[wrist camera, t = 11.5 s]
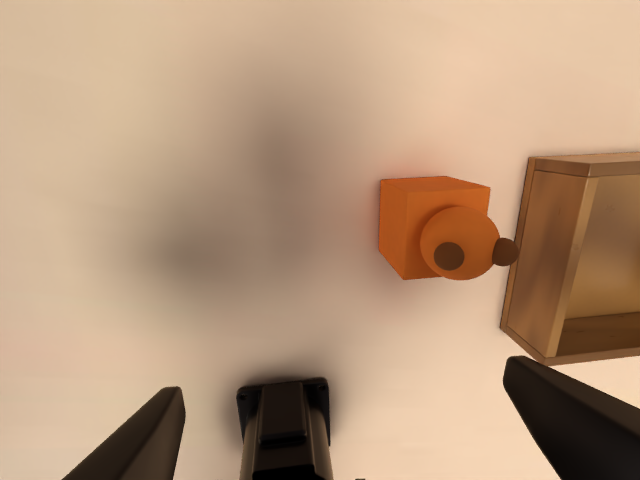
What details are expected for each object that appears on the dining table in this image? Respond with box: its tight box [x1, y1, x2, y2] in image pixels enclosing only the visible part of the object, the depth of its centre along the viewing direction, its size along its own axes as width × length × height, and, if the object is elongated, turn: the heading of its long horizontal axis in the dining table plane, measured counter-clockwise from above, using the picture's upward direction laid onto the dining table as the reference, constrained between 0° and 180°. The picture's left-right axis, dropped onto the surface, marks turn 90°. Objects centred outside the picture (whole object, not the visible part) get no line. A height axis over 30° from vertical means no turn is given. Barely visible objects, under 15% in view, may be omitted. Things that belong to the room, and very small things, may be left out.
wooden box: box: [500, 152, 640, 366], centre depth 20 cm, size 12×14×4 cm
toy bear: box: [379, 176, 519, 280], centre depth 16 cm, size 5×4×8 cm
